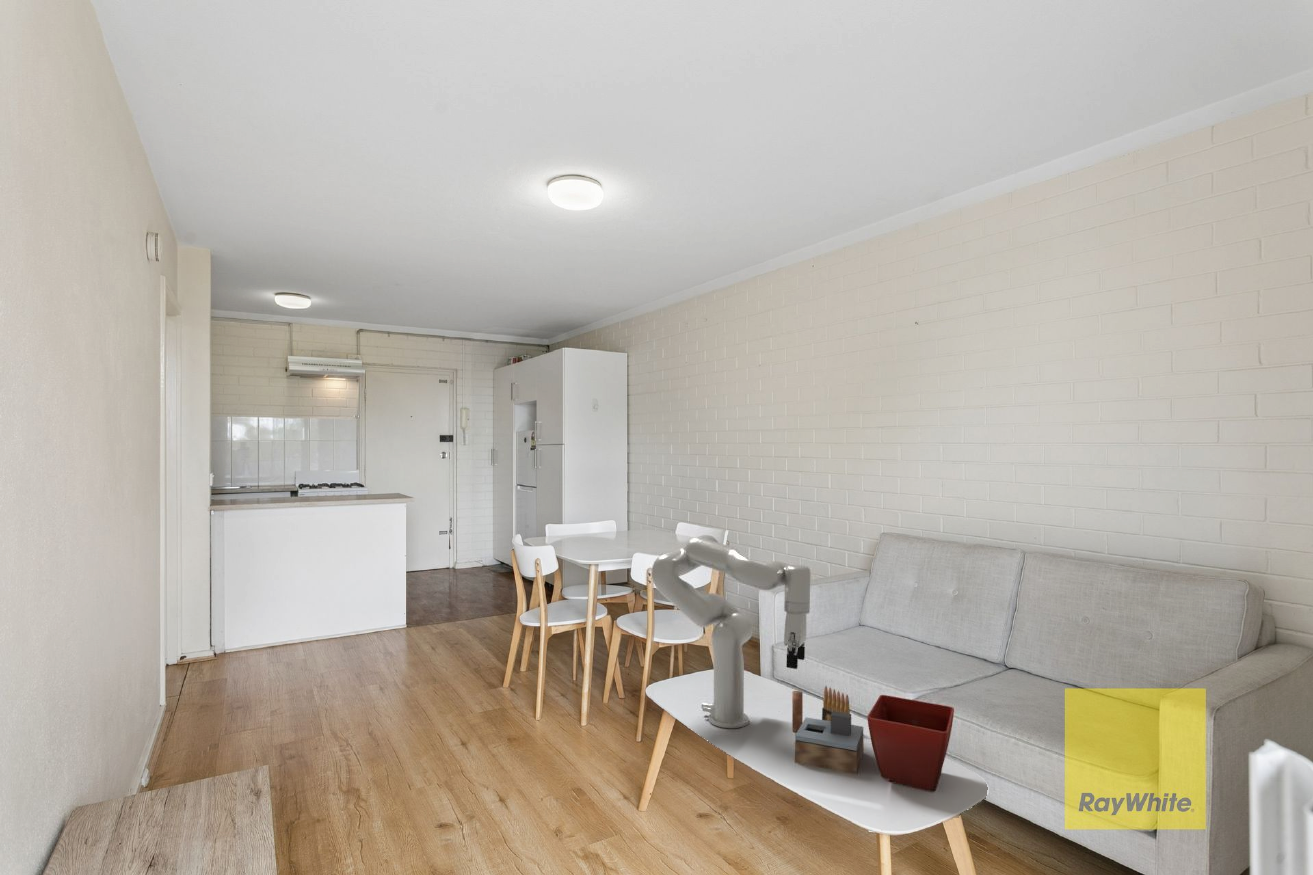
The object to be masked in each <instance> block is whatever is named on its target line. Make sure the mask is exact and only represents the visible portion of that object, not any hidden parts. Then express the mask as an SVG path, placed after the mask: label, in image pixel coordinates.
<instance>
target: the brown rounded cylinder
mask: <svg viewBox="0 0 1313 875" xmlns="http://www.w3.org/2000/svg"><path fill="white" fill-rule="evenodd" d="M791 695H792V697H791V698H792V699H791V700H792V714H791V715H792V720H791V722H792V725H791V726H792V729H791V730H792V731H791V732H793V733H794V734H796V733H797V731H798V730H799V728H800V726H801V725H802V723H803V721H804V720H803V719H804V718H803V712H804V711H803V708H804V707H803V706H804V705H803V704H804V702H803V701H804V700H803V691H801V690H794V691H793V690H792V694H791Z"/></svg>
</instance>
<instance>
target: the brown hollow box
mask: <svg viewBox="0 0 1313 875" xmlns="http://www.w3.org/2000/svg"><path fill="white" fill-rule="evenodd" d="M806 731H812V732H818V733H823V732H824V731H823V730H817V729H811V728H808V729H807V730H806ZM864 745H865V744H864V733H863V734H862V737H861V739H860V742H859V745H858V748H857V751H854V750H849V749H843V748H838V747H832V746H827V745H821V744H816V743H810V742H805V741H799V740H794V757H795V758H794V763H796V764H800V765H807V766H812V767H815V768H819V769H820V768H821V769H826V770H831V771H837V772H841V773H847V774H852V775H856V776H857V774H858V771H859V767H860V766H861V763H862V762H861V761H862V760H863V755H864V749H865V748H864Z"/></svg>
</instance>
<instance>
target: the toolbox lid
mask: <svg viewBox="0 0 1313 875" xmlns="http://www.w3.org/2000/svg"><path fill="white" fill-rule="evenodd" d="M808 728H811V729H817V730H823V731H824V732H823V733H818V732H812V731H806V730H807V729H808ZM862 734H863V735H864V726H862V725H854V724H852V713H850V714H849V713H843V712H836V711H832V713H831V721H826V720H822V719H819V718H812V717H807V716H806V717H805V718H804V720H803V723H802V725H801V726H800V728H799V730H798V731H797V733H795V736H794V739H795V740H799V741H805V742H810V743H816V744H821V745H827V746H832V747H838V748H843V749H849V750H854V751H857V748H858V745H859V742H860V739H861V737H862ZM795 740H794V741H795Z"/></svg>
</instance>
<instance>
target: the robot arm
mask: <svg viewBox="0 0 1313 875" xmlns="http://www.w3.org/2000/svg"><path fill="white" fill-rule="evenodd" d="M702 566H704V567H706V568H709V569H712V570H715V571H717V572H721V573H724V574H727V575H728V576H729V577H731V578H733V579H734V580H736V581H738V582H739V583H742V584H743V585H744V584H745V585H747V586H750V587H753V588H755V589H759V590H764V591H771V590H774V589H776V588H778V587H781V586H784V604H783V605H784V607H783V609H784V612H786V613H785V614H786V615H785V621H784V622H785V623H784V636H783V645H784V646H786V647H787V649H786V668H788V669H794V670H797V669H798V665H799V663H798V662H799V660H800V661H804V660H805V655H806V650H805V649H806V644H805V643H806V642H805V641H806V639H807V618H808V617H807V614H810V612H811V611H810V610H811V609H810V607H811V603H810V601H811V569H810V568H809V566H806V565H804V564H790V563H785V562H782V561H777V560H776V561H771V562H767V563H765V564H763V563H759V562H757V561H753V560H751V559H748V558H746V557H744V556H742V555H741V554H740V553H739V551H738V549H737V548H735V547H734V546H729V545H727V544H724V543H720V542H719V541H718V539H716V538H715V537H714V536H712V535H709V534H704V535H699V536H695V537H693V538H691V539H690V540H688V541H687V543H686V545H685V546H683V547H681V548H678V549H676V550H673V551H671V552H670V551H669V552H666V553H664V554H661V555H659V556H658V557H657V558H656V559H655V560H654V561H653V564H652V568H651V579H652V581H653V584H654V587H655V588H656V589H657V591H658V592H659V593H660V594H661V595H662V596H663V597H664V598H665V599H666V600H668V601H669V602H670V603H671V604H673V605H674V606H675V607H676V608H677V609H678V610H679V611H680V612H681V613H682V614H683V615H685V617H687V618H688V619H689V620H691V622H693V624H695V625H696V626H697V627H700V628H707V627H711V626H713V625H714V628H713V630H712V632H711V647H712V652H713V654H712V655H713V656H712V658H713V703H708V702H702V703H701V710H702V712H706V713H709V715H708V721H709V722H710V724H712V725H713V726H716V727H719V728H724V729H737V728H738V729H739V728H742V727H745V726H747V725H748V724H749V721H750V720H749V719H750V717H749V716H748V715H747V714H746V713H744V712H745V710H744V709H745V706H744V705H745V691H744V690H745V682H744V681H745V668H744V667H745V665H744V664H745V663H744V654H743V645H744V644H745V643H747V642H748V641H749V640H750V639H751V637H752V635H753V632H754V631H753V630H754V629H753V625H752V623H751V621H750V619H749V618H748V617H747V616H746V615H745V614H744V613H743V612H742V611H741V610H739V609H738V608H737V607H735V606H734V605H733V603H731V602H730V601H729V600H727V598H725V597H724V596H722V595H720V594H718V593H715V592H713V593H712V592H710V593H707V594H703V593H701V592H700V591H699V590H697V589H696V588H695V587H694V586H693V585H692V584H690V583H688V582H687V581H685V580H684V579H682V578H680V577H681V576H684V575H686V574H688V573H691V572H692V571H694V570H696V569H697V568H699V567H702Z"/></svg>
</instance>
